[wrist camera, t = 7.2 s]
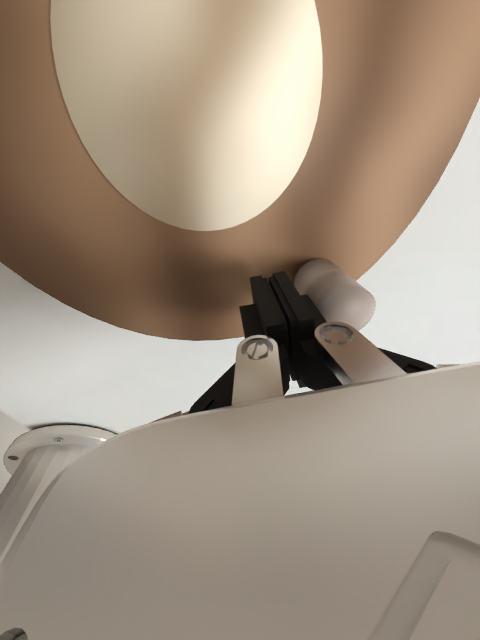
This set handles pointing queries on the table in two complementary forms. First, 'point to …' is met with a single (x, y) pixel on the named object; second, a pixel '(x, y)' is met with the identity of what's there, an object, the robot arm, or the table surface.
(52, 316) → the table surface
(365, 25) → the turntable
